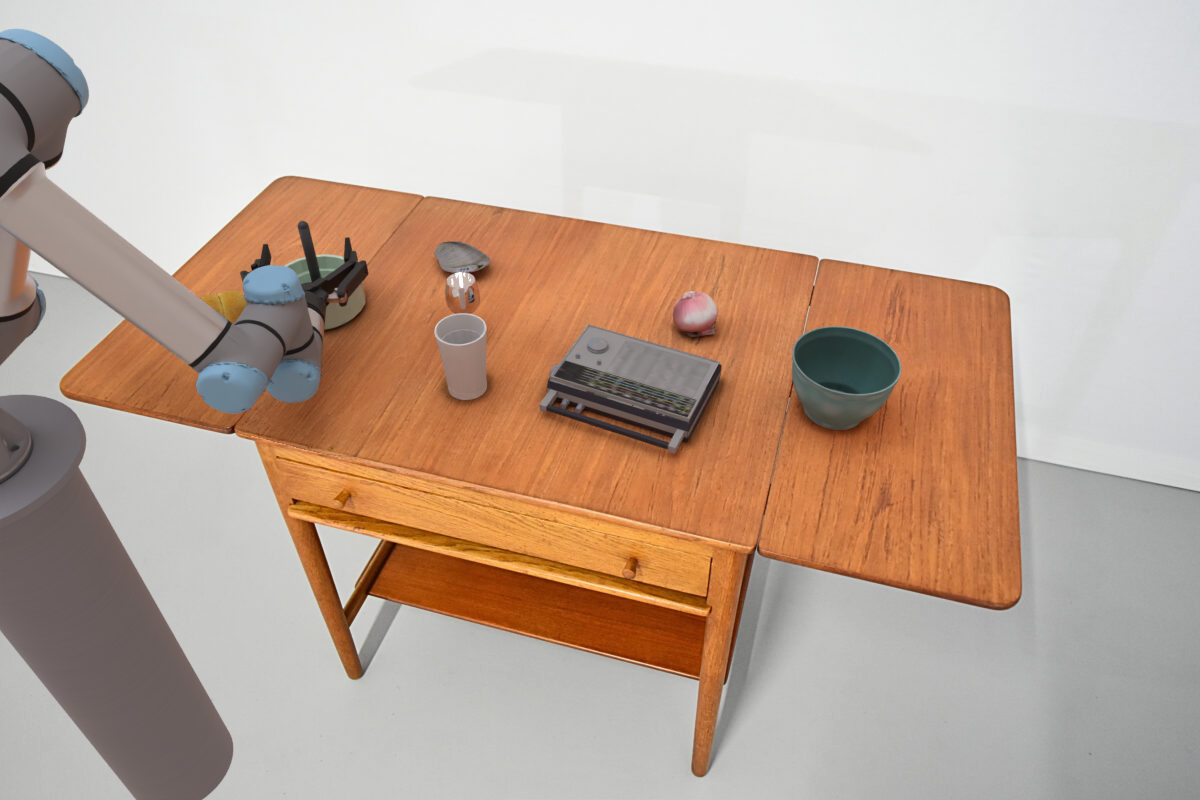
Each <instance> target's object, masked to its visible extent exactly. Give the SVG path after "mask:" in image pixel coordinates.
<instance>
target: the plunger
mask: <svg viewBox="0 0 1200 800" xmlns="http://www.w3.org/2000/svg"><path fill="white" fill-rule="evenodd" d="M297 230H298V234H299V239H300V242H301V246H302V250H303V254H304V257H305V258H306V262H307V266H308V270H309V274H310V278H311V282H312V283H313V282H314V281H316V280H317V279H319V278H320V277H321V274H320V270H319V265H318V261H317V257H316V255H317V253H316V250H315V249H316V248H315V246H314V240H313V237H312V233H311V229H310V224H309V223H308V222H307V221H305V220H300V221H299V222H298V223H297ZM320 287H321V286H320ZM334 291H335V290H334ZM334 291H333V292H334ZM333 292H332V293H333ZM332 293H331V294H332Z"/></svg>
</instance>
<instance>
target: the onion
mask: <svg viewBox="0 0 1200 800" xmlns="http://www.w3.org/2000/svg"><path fill="white" fill-rule="evenodd" d="M718 314H719V310H718V306H717V304H716V302H715V301H714V300H713V298H712V297H711V296H709V295H708V294H706V293H705V292H702V291H697V290H690V291H689V290H688V291H686V292H684V293H683V294H682V295H681V296H680V298H679V299H678V300H676V302H675V303H674V306H673V310H672V320H673V323H674V324H675V327H676V328H677V329H678V330H680V331H682V332H683V333H685V334H686V335H687V336H689V337H690V338H695V337H703V336H711V335H716V327H717V326H716V323H717V320H718V316H719V315H718ZM713 325H714V326H713Z"/></svg>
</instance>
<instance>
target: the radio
mask: <svg viewBox="0 0 1200 800" xmlns="http://www.w3.org/2000/svg"><path fill="white" fill-rule="evenodd" d="M721 375H722V364H721V363H720V361H719V360H715V359H712V358H709V357H708V358H707V357H704V356H701V355H697V354H694V353H691V352H687V351H684V350H680V349H677V348H673V347H669V346H666V345H663V344H659V343H656V342H652V341H649V340H646V339H641V338H638V337H635V336H631V335H627V334H624V333H620V332H617V331H613V330H611V329H606V328H603V327H599V326H596V325H593V324H587V325H586V326H585V328H584V329H583V330H582V332H581V333H580V334H579V336H578V338H577V339H576V340H575V341H574V343H573V344H572V345H571V347H570V348H569V350H567V352H566V354H565V355H564V356H563V358H562V359H561V361H560V362H559V363H558V364H556V363H555V364H554V365H553V366H552V367H551V369H550V371H549V376H548V379H547V383H546V395H545V396H544V397H543V399H542V400H541V401H540V403H539V404H538V406H539V407H538V408H539V411H541V412H543V413H548V412H549V413H552V414H555V415H558V416H561V417H565V418H567V419H570V420H574V421H576V422H580V423H583V424H586V425H589V426H591V427H595V428H599V429H601V430H604V431H607V432H611V433H614V434H617V435H620V436H623V437H627V438H630V439H633V440H636V441H640V442H643V443H646V444H648V445H650V446H651V445H652V446H655V447H658V448H660V449H664V450H667V452H669V453H672V454H676V453H677V451H678V449H679V447H680V445H681V444H682V442H684V443H689V441H690V439H691V438H692V435H693V434H694V432H695V430H696V428H697V426H698V424H699V422H700V420H701V419H702V417H703V414H704V412H705V411H706V409H707V407H708V405H709V404H710V401H711V399H712V398H713V395H714V394H715V391H716V389H717V388H718V386H719V384H720V380H721V377H722V376H721ZM555 401H556V402H559V406H556V405H553V404H554V402H555ZM568 406H570V407H574V411H572V410H569V409H566V408H567V407H568ZM583 410H584V411H587V412H590V413H594V414H596V415H599V416H603V417H606V418H609V419H612V420H615V421H619V422H621V423H625V424H628V425H632V426H634V427H637V428H641V429H644V430H647V431H651V432H653V433H656V434H659V435H662V436H666V437H669V438H671V439H670V441H666V440H663V439H660V438H657V437H654V436H650V435H648V434H645V433H641V432H638V431H634V430H632V429H630V428H629V429H628V428H625V427H623V426H619V425H616V424H613V423H610V422H606V421H603V420H601V419H597V418H594V417H591V416H588V415H584V414H582V411H583Z"/></svg>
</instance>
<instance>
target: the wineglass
mask: <svg viewBox="0 0 1200 800" xmlns="http://www.w3.org/2000/svg"><path fill="white" fill-rule="evenodd" d="M444 299H445V304H446V306H447V308H448V309H449V311H450V312H452V313H453V314H458V313H468V314H473V313H474V312H475V311H477V310H478V308H479V306H480V303H481V293H480V289H479V285H478V283H477V280H476V277H475V276H474V275H473V274H471V273H470V272H469V273H465V272H459V273H452V274H450V275H449V276H448V277H447V279H446V282H445V288H444Z"/></svg>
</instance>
